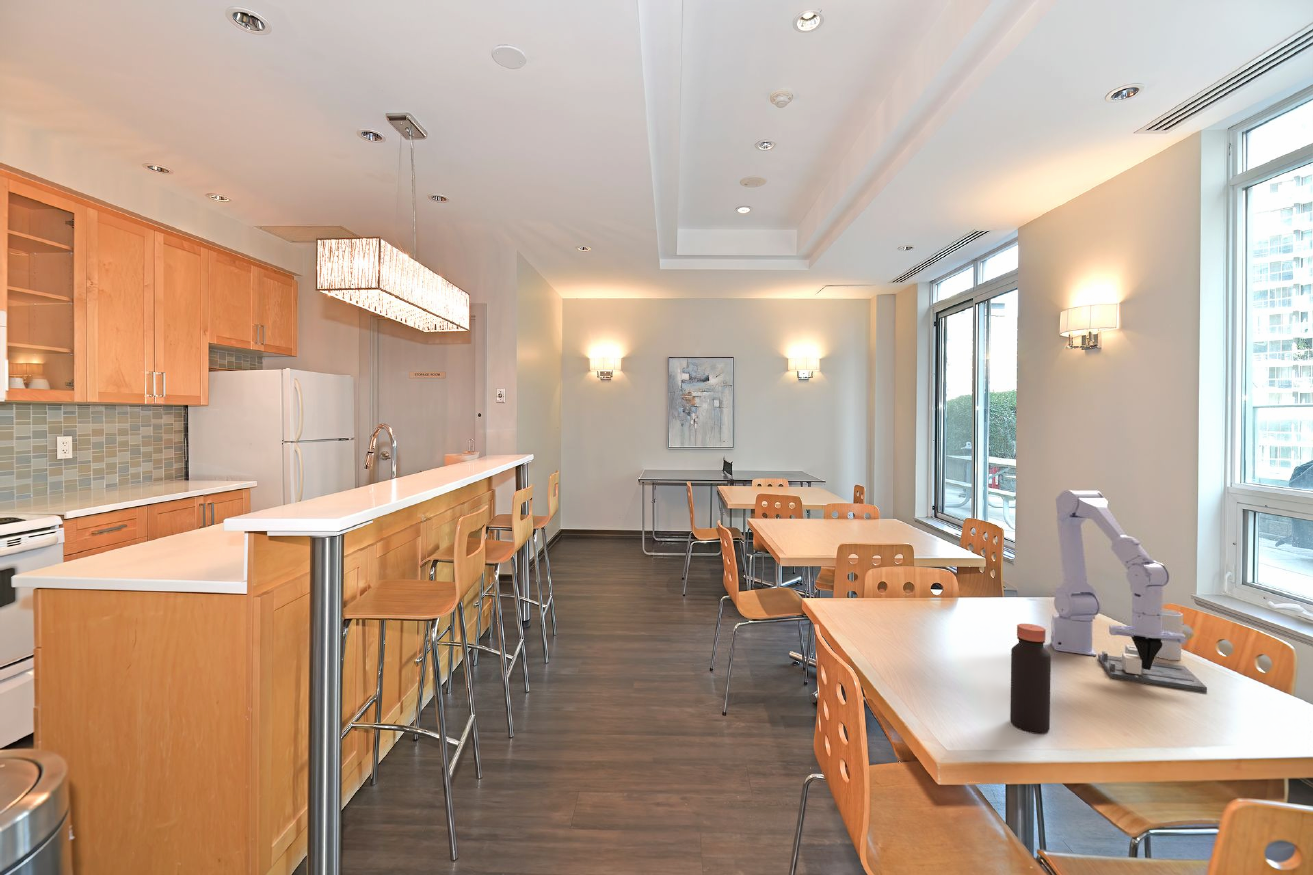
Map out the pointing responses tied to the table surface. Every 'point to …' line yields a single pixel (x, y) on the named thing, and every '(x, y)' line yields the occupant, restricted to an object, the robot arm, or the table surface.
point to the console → (1154, 674)
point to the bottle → (1030, 680)
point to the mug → (1173, 623)
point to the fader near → (1131, 663)
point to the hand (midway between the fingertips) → (1145, 668)
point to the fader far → (1131, 650)
